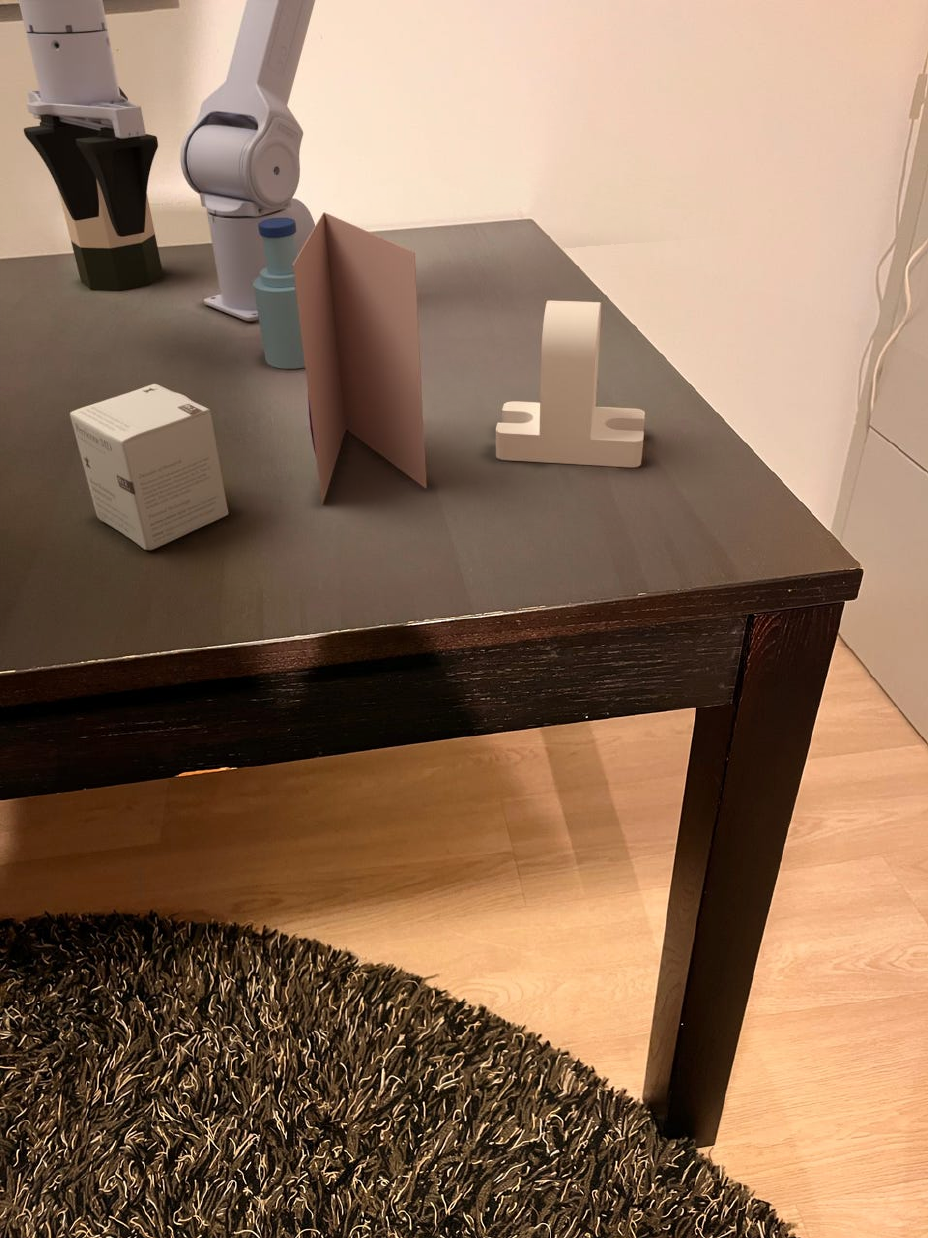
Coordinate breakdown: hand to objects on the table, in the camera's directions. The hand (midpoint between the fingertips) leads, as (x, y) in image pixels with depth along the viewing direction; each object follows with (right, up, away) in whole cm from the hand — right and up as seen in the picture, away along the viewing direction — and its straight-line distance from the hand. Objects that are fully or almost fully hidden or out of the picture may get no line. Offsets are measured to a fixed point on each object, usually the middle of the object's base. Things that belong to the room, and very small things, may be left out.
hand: (107, 225), depth 79 cm
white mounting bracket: (+36, -20, -11) cm, 43 cm away
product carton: (+10, -26, -18) cm, 33 cm away
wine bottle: (-7, +4, +23) cm, 25 cm away
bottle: (+15, -10, +4) cm, 18 cm away
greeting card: (+23, -21, -12) cm, 34 cm away
